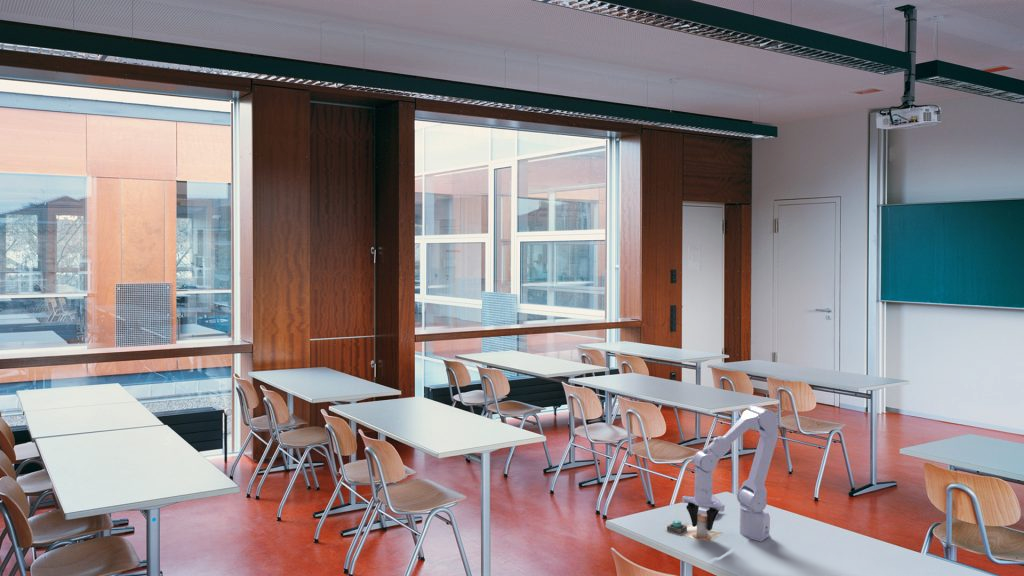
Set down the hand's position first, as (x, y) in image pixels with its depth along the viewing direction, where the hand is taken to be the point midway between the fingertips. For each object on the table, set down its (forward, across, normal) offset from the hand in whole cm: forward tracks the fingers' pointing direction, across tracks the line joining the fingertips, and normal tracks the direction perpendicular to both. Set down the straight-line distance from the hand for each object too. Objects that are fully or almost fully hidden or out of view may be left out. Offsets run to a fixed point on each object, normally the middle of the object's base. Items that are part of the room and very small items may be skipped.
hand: (702, 527), depth 268 cm
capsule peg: (+3, 0, 0) cm, 3 cm away
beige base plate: (+4, -4, +2) cm, 6 cm away
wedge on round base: (+4, -10, +24) cm, 27 cm away
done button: (+3, -9, 0) cm, 10 cm away
